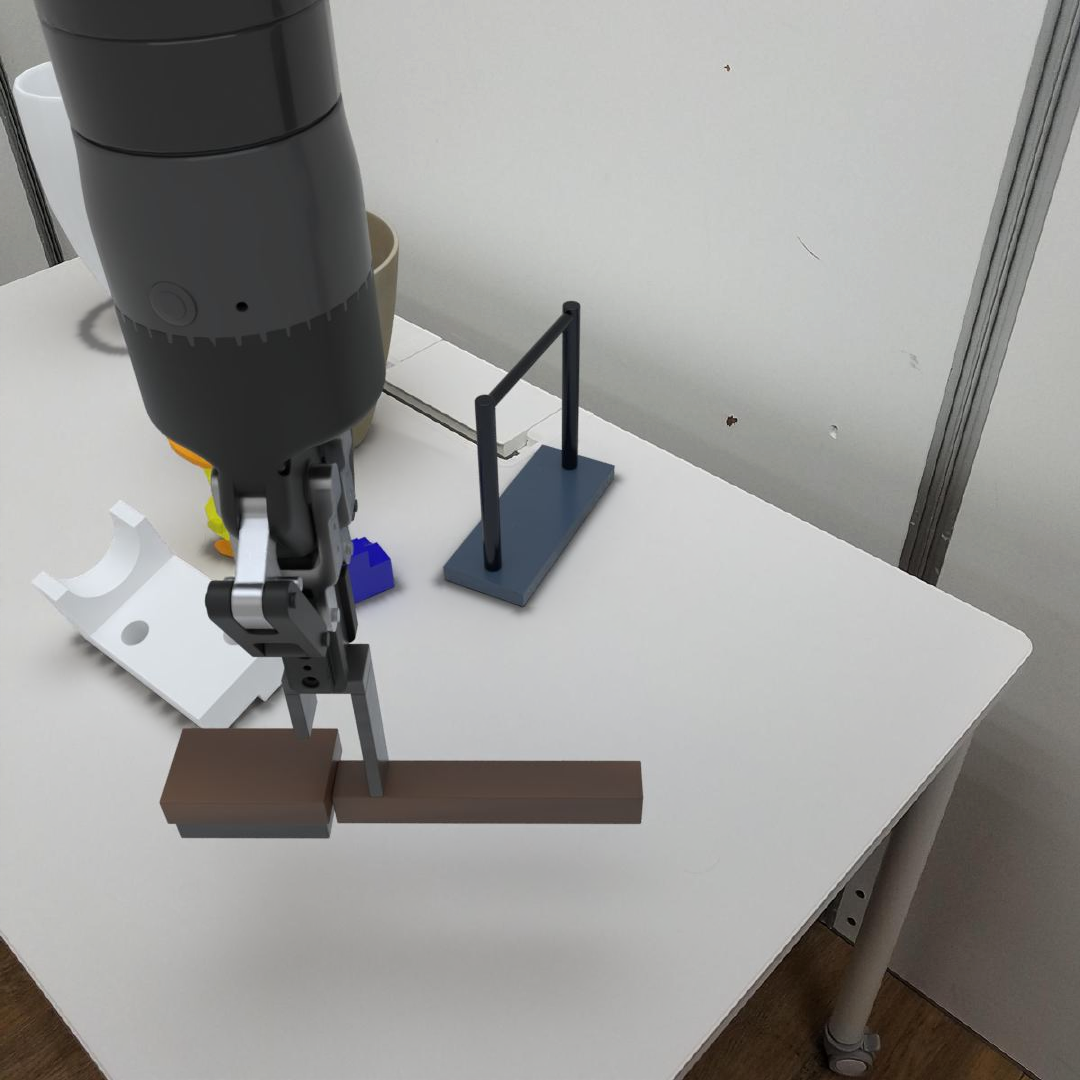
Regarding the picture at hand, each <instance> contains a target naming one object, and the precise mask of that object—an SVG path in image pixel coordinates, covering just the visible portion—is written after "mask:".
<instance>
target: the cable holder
mask: <svg viewBox="0 0 1080 1080" xmlns="http://www.w3.org/2000/svg"><path fill="white" fill-rule="evenodd" d="M351 542H353V546H354V551H353V555H351V560H350V563H349V564H342V565H348V570H349V575H350V581H351V587H352V592H353V598H354V604H355V605H356V604H357V603H360V602H362V601H365V600H366V599H369V598H371V597H373V596H375V595H376V596H377V595H378V594H380V593H382V592H384V591H387V590H390V589H391V588H394V587H395V580H394V579H395V578H394V572H393V565H392V564H393V563H392V558H391V557H390V556H389V555H388V553H387V552H386V551H385V550H384V549H383V547H382V546H381V545H380V544H379V542H378V541H375V542H372V541H371V540H370V539H368V538H367V537H366V536H362V537H361V538H358V537H356V538H353V539H351Z"/></svg>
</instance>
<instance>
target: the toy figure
mask: <svg viewBox="0 0 1080 1080" xmlns="http://www.w3.org/2000/svg"><path fill="white" fill-rule="evenodd" d="M165 438H166V439H167V441H168V443H169V446H170V449H172V450H173V452H174V453H175V454H177V455H178V456H179V457H181V458H182V459H184V460H185V461H187V462H189V463H191V464H192V465H195V466H197V467H199V468H201V469H202V471H203V473H204V474H205V478H206V479H207V481H208V484H209V486H210V487H211V471H212V467H213V466H212V465H211V464H210V463H209V462H207V461H206V460H204V459H203V458H201V457H200V456H198V455H197V454H195V453H193V452H191V451H190V450H188V449H186V448H184V447H182V446H180V445H178V444H176V443H174V442H173V441H171V440H170V439H168V438H167V437H166V436H165ZM204 510H205V514H206V517H207V523H206V526H207V527H208V528H209V529H210V530H211V531H212V532H214V533H215V534H216V535H217V536H219V537H220V538H222V539H217V540H216V541H215V543H214V544H213V545H214V547H215V549H216V550H217V551H218V552H219V554H222V555H224V556H227V557H232V558H234V555H233V550H232V546H231V541H230V537H229V533H228V531H227V529H226V528H225V526H224V524H223V521H222V519H221V518H220V517H219V516H218V514H217V512H216V509H215V505H214V500H213V496H212V494H211V495H210V497H209V498H208V501H207V502H206V504H205V505H204Z"/></svg>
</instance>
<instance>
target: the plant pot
mask: <svg viewBox="0 0 1080 1080" xmlns="http://www.w3.org/2000/svg"><path fill="white" fill-rule="evenodd" d="M366 216H367V224H368V231H369V239H370V247H371V255H372V262H373V271H374V279H375V287H376V295H377V303H378V311H379V319H380V327H381V334H382V342H383V350H384V358H385V366H386V367H387V364H388V363H387V362H388V357H389V353H390V348H391V347H390V346H391V342H392V334H393V327H394V319H395V312H396V303H397V288H398V275H399V273H398V272H399V251H400V236H399V233H398V231H397V229H396V227H395V225H393V224H392V223H391V222H390V221H389V220H388V219H387V218H386V217H384V216H383V215H381V214H380V213H377V212H376V211H373V210H372V209H369V208H366ZM377 404H378V401H377V402H376V404H375V406H374V407H373V408H372V410H371V411H370V412H369V413H368V414H367V415H366V416H365V417H364V418H363V419H362V420H361V421H360V422H359V423H357V424H356V425H355V426H354V427H352V434H353V450H354V449H355V448H356V447H358V446H359V445H360V444H361V443H362V442H363V441H364V440H365V439H366V437H367V435H368V432H369V430H370V427H371V425H372V424H371V423H372V420H373V417H374V414H375V411H376V408H377Z"/></svg>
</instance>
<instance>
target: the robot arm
mask: <svg viewBox="0 0 1080 1080" xmlns="http://www.w3.org/2000/svg"><path fill="white" fill-rule="evenodd" d="M32 1H33V5H34V9H35V11H36V16H37V20H38V22H39V25H40V29H41V32H42V36H43V40H44V42H45V46H46V50H47V53H48V56H49V59H50V61H51V63H52V66H53V70H54V73H55V76H56V80H57V83H58V86H59V90H60V93H61V96H62V100H63V103H64V107H65V110H66V113H67V117H68V119H69V121H70V126H71V131H72V135H73V140H74V144H75V148H76V153H77V159H78V165H79V173H80V180H81V187H82V193H83V199H84V204H85V209H86V213H87V217H88V221H89V225H90V229H91V232H92V235H93V238H94V242H95V245H96V248H97V251H98V254H99V258H100V261H101V264H102V267H103V270H104V274H105V277H106V280H107V283H108V287H109V290H110V293H111V296H110V297H112V298H111V300H112V303H113V304H112V305H113V307H114V310H115V314H116V316H117V320H118V324H119V326H120V330H121V333H122V336H123V339H124V342H125V346H126V349H127V353H128V356H129V360H130V363H131V366H132V370H133V372H134V375H135V379H136V382H137V385H138V389H139V392H140V396H141V399H142V402H143V405H144V409H145V411H146V414H147V416H148V418H149V420H150V421H151V423H152V424H153V426H154V427H155V428H156V429H157V430H158V431H159V433H161V434H162V435H163V436H165V438H166V437H167V438H168V439H170V440H171V441H173V442H174V443H176V444H178V445H180V446H182V447H184V448H186V449H188V450H190V451H191V452H193V453H195V454H197V455H198V456H200V457H201V458H203V459H204V460H206V461H207V462H209V463H210V464H211V465H212V466H213V467H212V471H211V486H210V491H211V495H212V496H213V500H214V505H215V509H216V512H217V514H218V516H219V517H220V518H221V519H222V521H223V524H224V526H225V528H226V529H227V531H228V533H229V537H230V541H231V546H232V550H233V555H234V557H233V558H234V564H235V571H234V576H225V577H224V578H223V579H221V580H220V579H219V580H213V579H211V580H212V581H211V582H210V583H209V585H208V588H207V593H206V595H205V607H206V609H207V614H208V617H209V619H210V620H211V621H212V622H213V623H215V624H216V625H217V626H218V627H219V628H220V629H221V630H222V631H224V632H225V633H226V634H227V635H228V636H229V637H230V638H232V639H233V640H234V641H235V642H236V643H237V644H238V645H239V646H241V647H242V648H243V649H244V650H245V651H246V652H247V653H249V654H250V655H251V656H252V657H282V660H283V664H284V668H285V672H286V676H287V680H288V684H289V687H290V688H291V689H292V690H293V691H295V692H296V693H302V694H316V695H338V694H337V693H341V692H343V691H344V690H345V689H346V686H347V681H348V675H349V670H348V664H347V659H346V654H345V649H344V644H343V639H342V633H341V628H340V623H339V620H340V609H339V608H338V607H337V600H336V594H335V588H334V585H335V584H336V583H337V582H338V587H339V593H340V598H341V603H342V609H343V614H344V619H345V625H346V630H347V635H348V641H349V644H352V643H353V642H354V641H355V640H356V637H357V632H358V627H359V622H358V615H357V610H356V603H355V604H354V598H353V592H352V587H351V581H350V575H349V570H348V565H342V564H349V563H350V560H351V555H353V551H354V546H353V542H351V540H352V538H351V533H350V527H349V526H350V524H351V523H352V522H354V521H355V519H356V513H358V510H359V502H358V499H356V495H357V494H356V481H355V461H354V459H355V457H354V449H353V434H352V427H354V426H355V425H356V424H357V423H359V422H360V421H361V420H362V419H363V418H364V417H365V416H366V415H367V414H368V413H369V412H370V411H371V410H372V408H373V407H374V406H375V404H376V402H377V403H378V400H379V399H380V397H381V395H382V393H383V390H384V387H385V385H386V384H385V383H386V377H387V365H386V366H385V358H384V350H383V342H382V334H381V327H380V319H379V311H378V303H377V295H376V287H375V279H374V271H373V262H372V255H371V247H370V239H369V231H368V224H367V216H366V209H367V207H366V202H365V195H364V186H363V181H362V174H361V168H360V163H359V160H358V155H357V151H356V147H355V144H354V141H353V137H352V134H351V131H350V127H349V122H348V118H347V115H346V111H345V105H344V100H343V93H342V86H341V79H340V71H339V64H338V63H339V62H338V56H337V49H336V42H335V41H336V40H335V35H334V26H333V19H332V12H331V3H330V0H32ZM376 405H377V404H376ZM167 438H166V439H167ZM168 439H167V440H168ZM303 587H307V588H309V589H311V590H312V592H313V595H314V598H306V597H305V595H304V594H303V593H302V592H301V591H302V588H303Z"/></svg>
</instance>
